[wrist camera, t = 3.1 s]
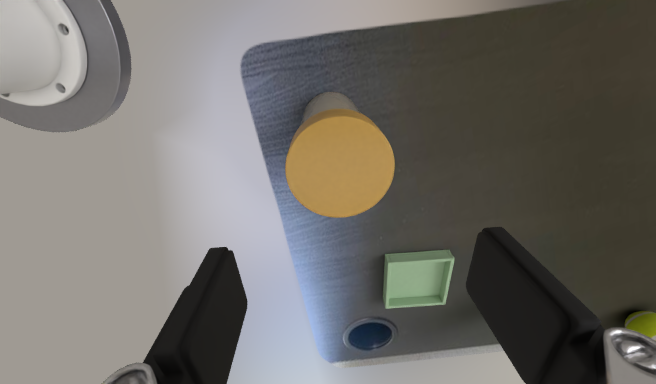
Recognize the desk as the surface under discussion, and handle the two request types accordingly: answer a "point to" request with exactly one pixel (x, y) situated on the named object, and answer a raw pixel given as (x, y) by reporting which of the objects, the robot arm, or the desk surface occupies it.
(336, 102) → the jar
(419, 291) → the tray
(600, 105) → the desk surface
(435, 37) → the desk surface
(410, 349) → the desk surface
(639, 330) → the tennis ball
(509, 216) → the desk surface
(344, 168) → the lid
